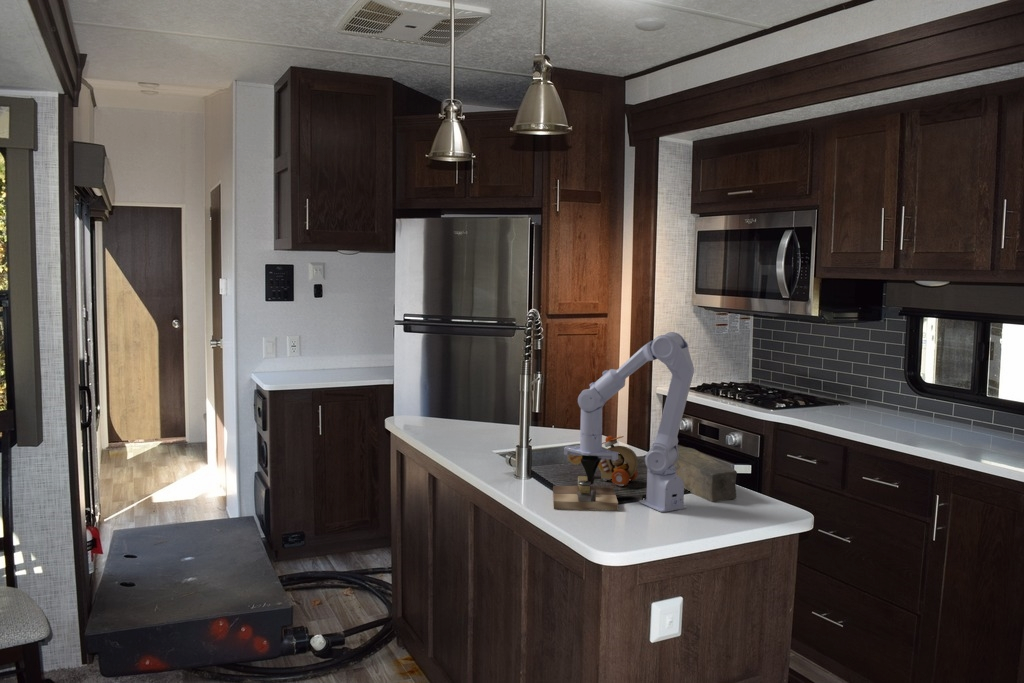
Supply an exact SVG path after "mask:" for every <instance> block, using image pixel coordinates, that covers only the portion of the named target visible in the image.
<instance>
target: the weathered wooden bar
mask: <svg viewBox="0 0 1024 683" xmlns="http://www.w3.org/2000/svg"><path fill="white" fill-rule="evenodd" d="M677 450H678V459H677V461H676V462H675V463H674V466H675V469H676V474H677V476H678V477H679V478H681V479H682V481H683V483H684V488H685V489H687V490H688V491H690V492H689V493H690V494H692V495H695V496H697V497H700V498H701V499H702V500H703V499H704V500H706V501H709V502H710V503H717V502H720V501H725V500H734V499H736V498H737V486H736V481H737V474H738V471H737V470H735V469H734V468H732V467H729V466H727V465H725V464H723V463H721V462H720V461H718V460H716V459H715V458H713V457H710V456H709V455H707V454H705V453H703V452H700V451H699V450H697V449H695V448H692V447H685V446H677ZM688 491H687V492H688Z"/></svg>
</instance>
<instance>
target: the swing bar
mask: <svg viewBox="0 0 1024 683" xmlns="http://www.w3.org/2000/svg"><path fill="white" fill-rule="evenodd" d="M577 486H579V490H580V493H590V486H592V485H591V482H590V481H588V479H587V475H578V476H577Z"/></svg>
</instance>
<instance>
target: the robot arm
mask: <svg viewBox="0 0 1024 683" xmlns="http://www.w3.org/2000/svg"><path fill="white" fill-rule="evenodd" d="M655 360H659V362H661V363H663V364H664V365H665V366H666V367H667V369H668V370H669V372H670V373H671V378H670V383H669V386H668V391H667V395H666V398H665V402H664V407H663V410H662V414H661V417H660V422H659V425H658V429H657V433H656V436H655V438H654V440H653V442H652V445H651V448H650V450H649V451H647V453H646V454H645V457H644V463H645V466H646V496H645V499H641V500H640V499H639V501H638V502H639V504H642V505H644V506H646V507H649V508H651V509H653V510H655V511H658V512H659V513H665V512H666V513H667V512H672V511H677V510H683V509H686V508H687V505H684V500H685V498H684V494H685V490H684V483H683V481H682V479H681V478H679V477H678V476H677V474H676V469H675V466H674V463H675V462H676V461H677V459H678V450H677V447H678V443H679V438H678V435H679V430H680V427H681V424H682V419H683V417H684V416H683V415H684V412H685V408H686V404H687V401H688V396H689V392H690V388H691V386H692V384H691V383H692V382H693V377H694V373H695V367H694V364H693V361H692V357H691V354H690V350H689V344H688V343H687V341H686V340H685V339H684V337H683V336H682V334H680V333H678V332H676V331H675V332H674V331H670V332H667V333H665V334H660V335H658V336H655V338H654V339H653V340H650V341H649V342H647V343H646V344H644V345H643V346H641V347H640V348H639V349H638V350H637V351H636V352H635V353H634V354H633V355H632V356H630V358H628V359H627V360H626V361H625V362H624V363H623V364H622V365H621V366H620V367H618V369H614V368H613V369H612V368H610V369H609V370H608V369H606V370H604V371H602V373H601V374H602V376H600V378H599V379H597V380H596V381H595V382H591V383H589V388H588V389H587V388H586V389H583V390H582V391H581V392H580V394H579V395H578V397H577V405H578V406H579V408H580V426H579V427H580V428H579V429H580V430H579V432H580V433H579V434H580V436H579V437H580V438H579V440H580V441H579V446H567V445H566V446H565V447H564V448H563V455H565V456H568V454H569V455H577V456H582V459H581V464H582V467H583V469H584V472H585V476H587V479H588V481H590V482H591V485H590V486H592V485H593V484H595V483H594V482H595V474H596V471H597V469H598V464H599V462H600V461H601V458H602V459H611V460H613V461H616V460H617V459H618V452H614V451H609V450H606V449H604V448H603V447H602V446H603V444H602V443H603V407H604V405H605V404H606V402H607V401H609V400H610V399H611V398H612V397H614V396H615V395H616V394H617V393H619V392H620V391H621V390H622V389H623V388H624V387H625V386H626V379H627V378H629V377H630V376H631V375H632V374H634V373H635V372H636V371H637V370H638V369H640V368H641V367H642V366H644V365H645V364H646V363H647V362H652V361H655Z"/></svg>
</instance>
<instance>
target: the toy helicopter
mask: <svg viewBox="0 0 1024 683" xmlns="http://www.w3.org/2000/svg"><path fill="white" fill-rule="evenodd" d="M622 438H624V435H622V436H621V435H620V436H618V437H615V438H614V437H613V436H612V435H608V436H606V437H605V439H604V440H605V442H602V445H603V444H604V446H605V448H606V449H605V450H609V451H614V452H618V459H617V460H616V461H613V460H611V459H602V458H601V461H600V462H599V464H598V466H597V468H598V470H599V471H600V472H601V475H600V476H601V479H602V478H606V479H612V480H611V482H612V484H614V483H617V484H624V485H625V486H627V485H628V484H629V483H630V482H629V479H631V480H633V481H635V480H636V479H637V477H638V470H637V469H638V466H639V464H638V463H639V462H638V461H639V460H638V456H637V454H636V452H635V451H633V449H631V448H630V447H627V446H624V445H615V444H617V443H619V442H618V439H622ZM608 447H609V448H608ZM567 458H568V461H569V463H571V464H572V465H573V466H580V465H581V464H582V463H581V459H582V456H577V455H569V454H568V455H567ZM634 479H635V480H634ZM626 484H627V485H626Z"/></svg>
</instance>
